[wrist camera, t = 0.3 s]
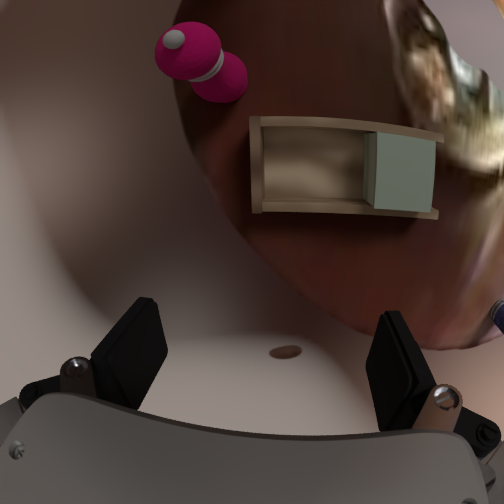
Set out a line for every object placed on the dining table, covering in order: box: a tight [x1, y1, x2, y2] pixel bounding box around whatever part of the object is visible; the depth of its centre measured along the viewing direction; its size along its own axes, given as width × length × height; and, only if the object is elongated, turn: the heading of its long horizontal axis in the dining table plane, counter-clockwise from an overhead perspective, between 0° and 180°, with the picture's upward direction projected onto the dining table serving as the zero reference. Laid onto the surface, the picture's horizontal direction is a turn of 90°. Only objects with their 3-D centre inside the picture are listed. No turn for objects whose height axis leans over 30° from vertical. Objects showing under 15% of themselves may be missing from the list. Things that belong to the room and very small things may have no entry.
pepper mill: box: [155, 22, 248, 103], centre depth 24 cm, size 7×7×20 cm
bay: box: [249, 116, 444, 219], centre depth 33 cm, size 12×26×6 cm, turn 91°
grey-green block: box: [362, 132, 436, 213], centre depth 31 cm, size 9×8×6 cm
